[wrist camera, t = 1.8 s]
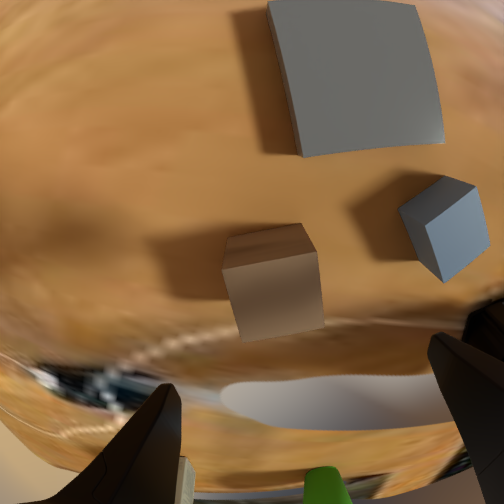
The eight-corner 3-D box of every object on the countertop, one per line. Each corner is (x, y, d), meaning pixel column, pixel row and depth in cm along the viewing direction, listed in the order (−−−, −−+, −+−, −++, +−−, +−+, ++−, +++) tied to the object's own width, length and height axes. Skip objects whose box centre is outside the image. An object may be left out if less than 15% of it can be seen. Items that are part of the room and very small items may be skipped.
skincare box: (157, 453, 32) (142, 526, 20) (187, 456, 32) (178, 532, 20) (169, 470, 34) (159, 535, 23) (197, 473, 34) (191, 540, 23)
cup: (312, 485, 37) (319, 538, 27) (280, 475, 34) (284, 536, 24) (359, 467, 35) (372, 522, 25) (331, 455, 32) (344, 521, 22)
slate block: (461, 227, 20) (490, 245, 16) (418, 259, 21) (443, 283, 17) (443, 175, 18) (476, 186, 14) (396, 208, 19) (424, 225, 15)
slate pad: (429, 140, 17) (445, 143, 15) (297, 155, 18) (303, 157, 16) (402, 13, 13) (414, 5, 11) (265, 13, 14) (267, 1, 12)
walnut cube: (309, 286, 21) (324, 327, 17) (243, 299, 22) (242, 342, 17) (300, 222, 20) (316, 251, 15) (227, 237, 20) (221, 269, 15)
